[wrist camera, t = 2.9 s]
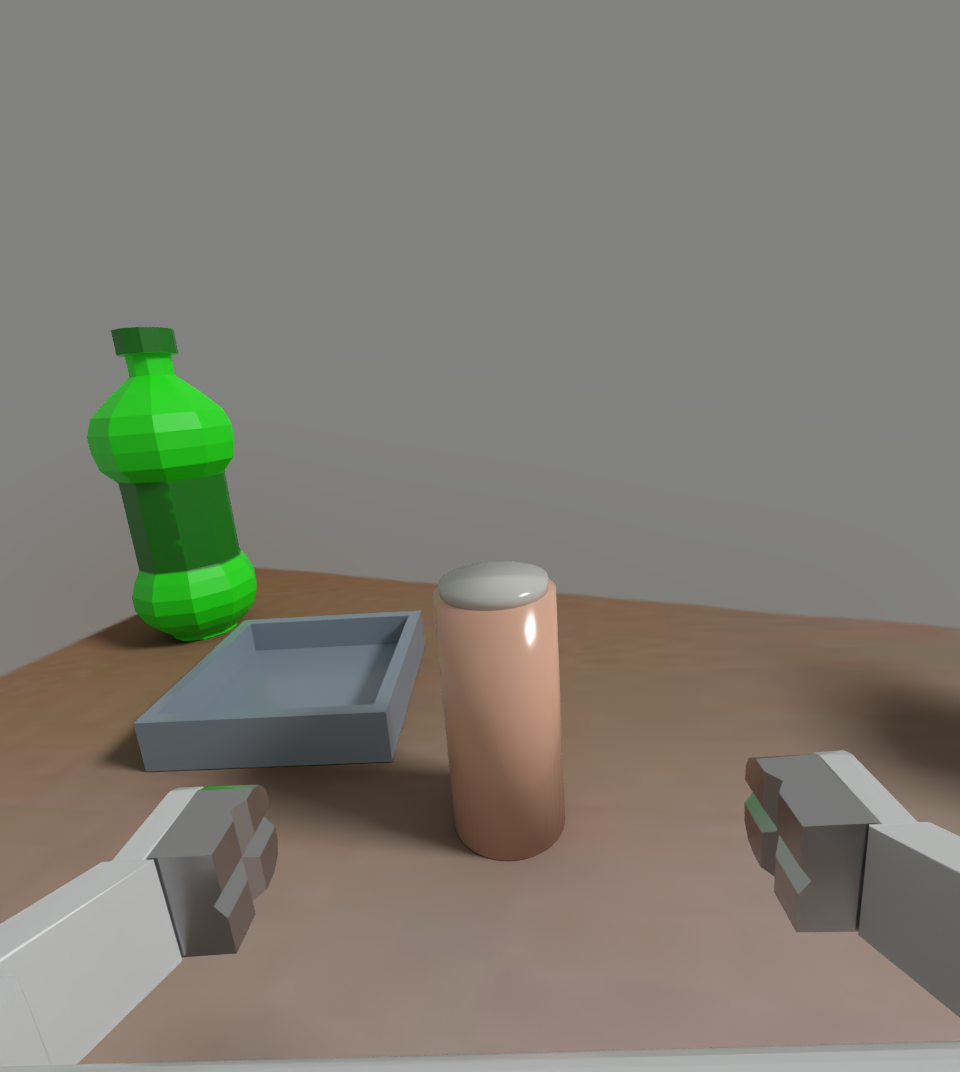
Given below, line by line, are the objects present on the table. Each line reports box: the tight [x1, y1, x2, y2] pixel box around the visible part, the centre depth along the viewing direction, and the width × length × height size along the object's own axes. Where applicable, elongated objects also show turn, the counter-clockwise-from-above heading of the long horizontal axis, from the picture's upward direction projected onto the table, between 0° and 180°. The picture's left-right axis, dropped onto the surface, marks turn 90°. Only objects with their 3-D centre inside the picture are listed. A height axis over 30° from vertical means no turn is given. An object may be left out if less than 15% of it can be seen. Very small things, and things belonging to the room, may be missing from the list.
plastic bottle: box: [87, 327, 257, 641], centre depth 47 cm, size 10×10×25 cm
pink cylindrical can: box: [432, 561, 565, 861], centre depth 24 cm, size 5×5×12 cm
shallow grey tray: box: [133, 611, 425, 772], centre depth 37 cm, size 14×14×3 cm
